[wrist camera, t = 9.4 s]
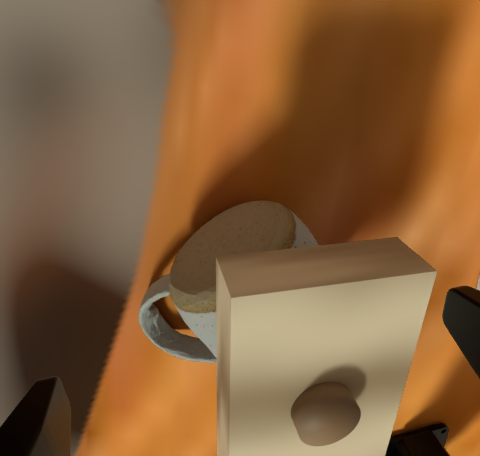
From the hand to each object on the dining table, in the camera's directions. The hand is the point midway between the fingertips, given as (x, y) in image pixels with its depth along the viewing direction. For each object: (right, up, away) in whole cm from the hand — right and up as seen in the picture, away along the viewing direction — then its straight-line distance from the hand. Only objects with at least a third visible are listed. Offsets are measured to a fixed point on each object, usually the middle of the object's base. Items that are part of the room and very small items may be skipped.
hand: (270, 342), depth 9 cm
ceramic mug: (-1, 0, +15) cm, 15 cm away
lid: (+2, -3, +8) cm, 9 cm away
